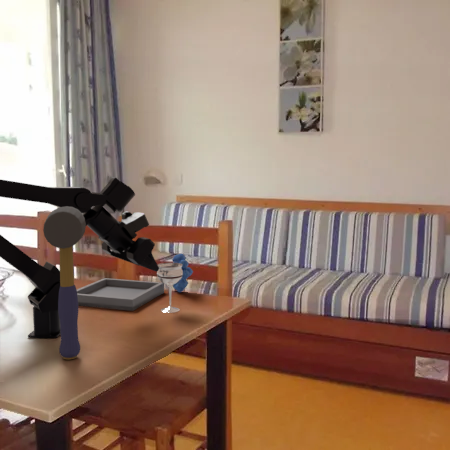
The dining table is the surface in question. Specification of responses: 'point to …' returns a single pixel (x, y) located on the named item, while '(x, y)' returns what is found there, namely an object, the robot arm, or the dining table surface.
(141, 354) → the dining table surface
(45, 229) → the rubber mallet
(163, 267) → the wineglass
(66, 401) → the dining table surface
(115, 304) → the tray
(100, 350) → the dining table surface
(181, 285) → the grapes
